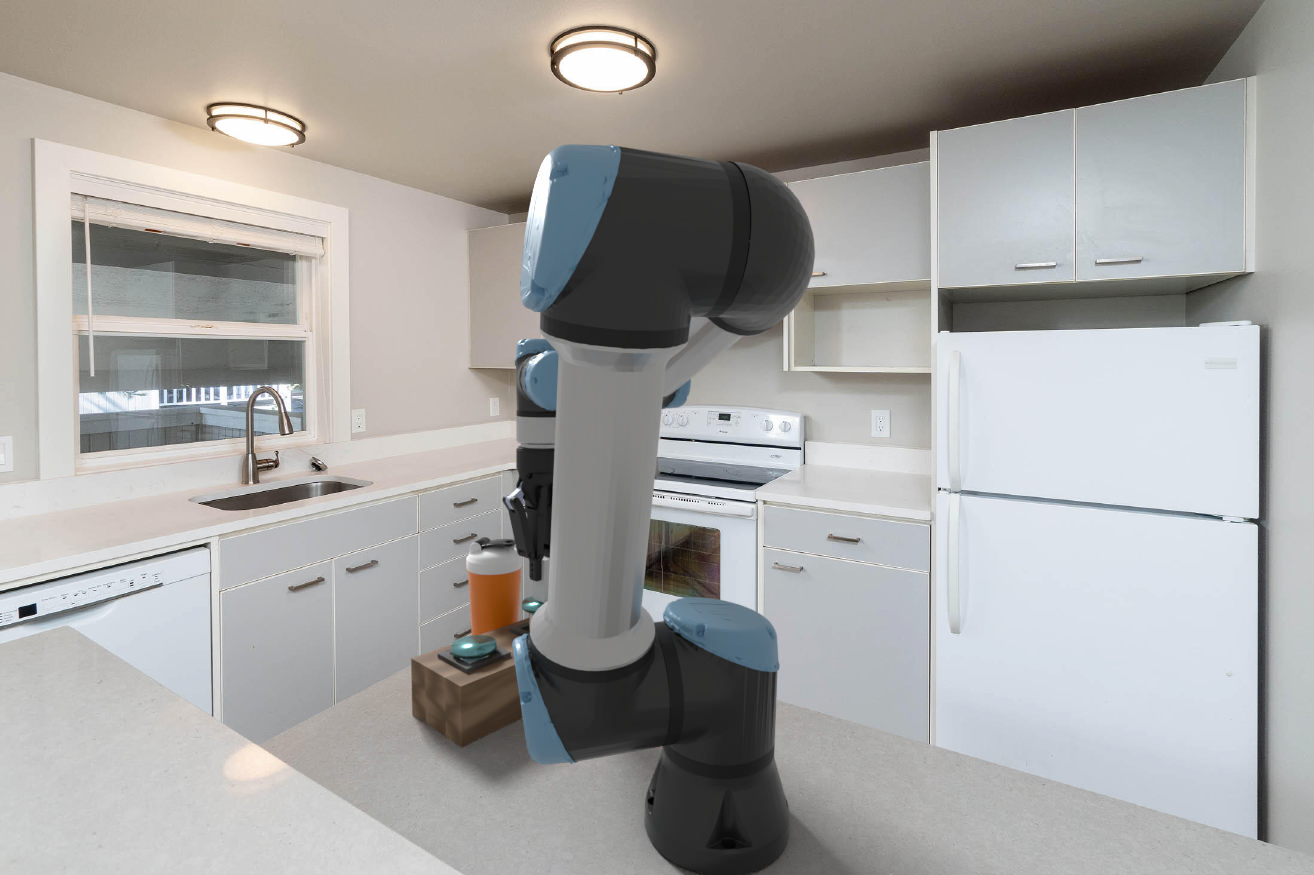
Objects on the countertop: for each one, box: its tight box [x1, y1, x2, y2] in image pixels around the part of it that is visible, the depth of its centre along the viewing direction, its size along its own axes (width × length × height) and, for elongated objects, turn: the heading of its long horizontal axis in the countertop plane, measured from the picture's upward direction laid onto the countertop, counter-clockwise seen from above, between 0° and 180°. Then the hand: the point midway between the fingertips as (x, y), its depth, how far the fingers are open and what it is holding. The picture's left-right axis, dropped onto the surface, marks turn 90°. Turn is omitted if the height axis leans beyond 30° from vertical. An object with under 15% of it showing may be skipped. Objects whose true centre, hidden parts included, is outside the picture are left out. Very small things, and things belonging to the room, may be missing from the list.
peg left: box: [450, 634, 497, 664], centre depth 89 cm, size 6×6×9 cm
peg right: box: [521, 595, 544, 632], centre depth 98 cm, size 6×6×9 cm
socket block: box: [410, 617, 530, 748], centre depth 94 cm, size 12×24×9 cm, turn 140°
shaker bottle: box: [465, 536, 524, 636], centre depth 106 cm, size 9×9×20 cm
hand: (542, 599), depth 98 cm, fingers closed
